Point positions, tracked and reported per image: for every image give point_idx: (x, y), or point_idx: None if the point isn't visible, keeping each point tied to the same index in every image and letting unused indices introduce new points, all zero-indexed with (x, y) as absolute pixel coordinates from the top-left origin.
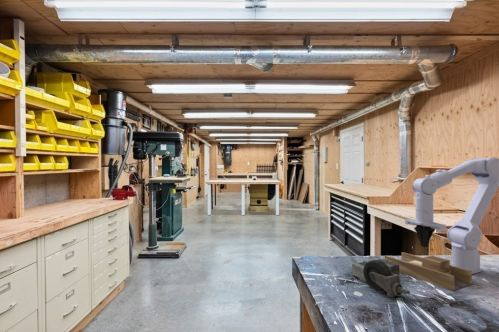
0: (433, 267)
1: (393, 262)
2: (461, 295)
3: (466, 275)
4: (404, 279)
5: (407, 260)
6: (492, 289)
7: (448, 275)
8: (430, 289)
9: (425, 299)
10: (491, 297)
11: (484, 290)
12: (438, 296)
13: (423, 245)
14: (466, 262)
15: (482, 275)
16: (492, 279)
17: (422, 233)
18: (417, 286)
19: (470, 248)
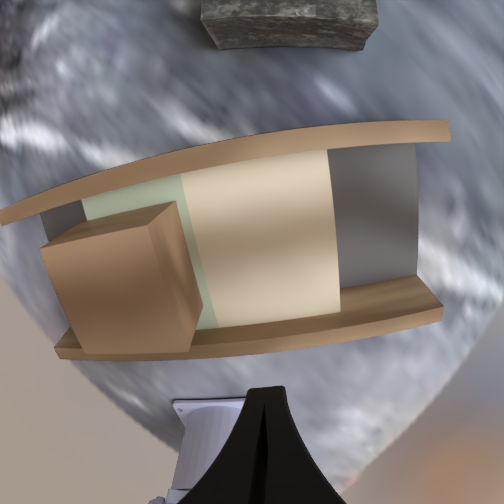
0: (91, 226)
1: (262, 14)
2: (11, 190)
3: (74, 334)
4: (198, 67)
5: (389, 293)
6: (54, 339)
7: (8, 207)
8: (63, 109)
9: (20, 32)
10: (4, 273)
11: (44, 310)
12: (18, 94)
13: (257, 395)
14: (185, 443)
15: (169, 425)
16: (132, 415)
17: (234, 501)
18: (102, 71)
19: (158, 496)
